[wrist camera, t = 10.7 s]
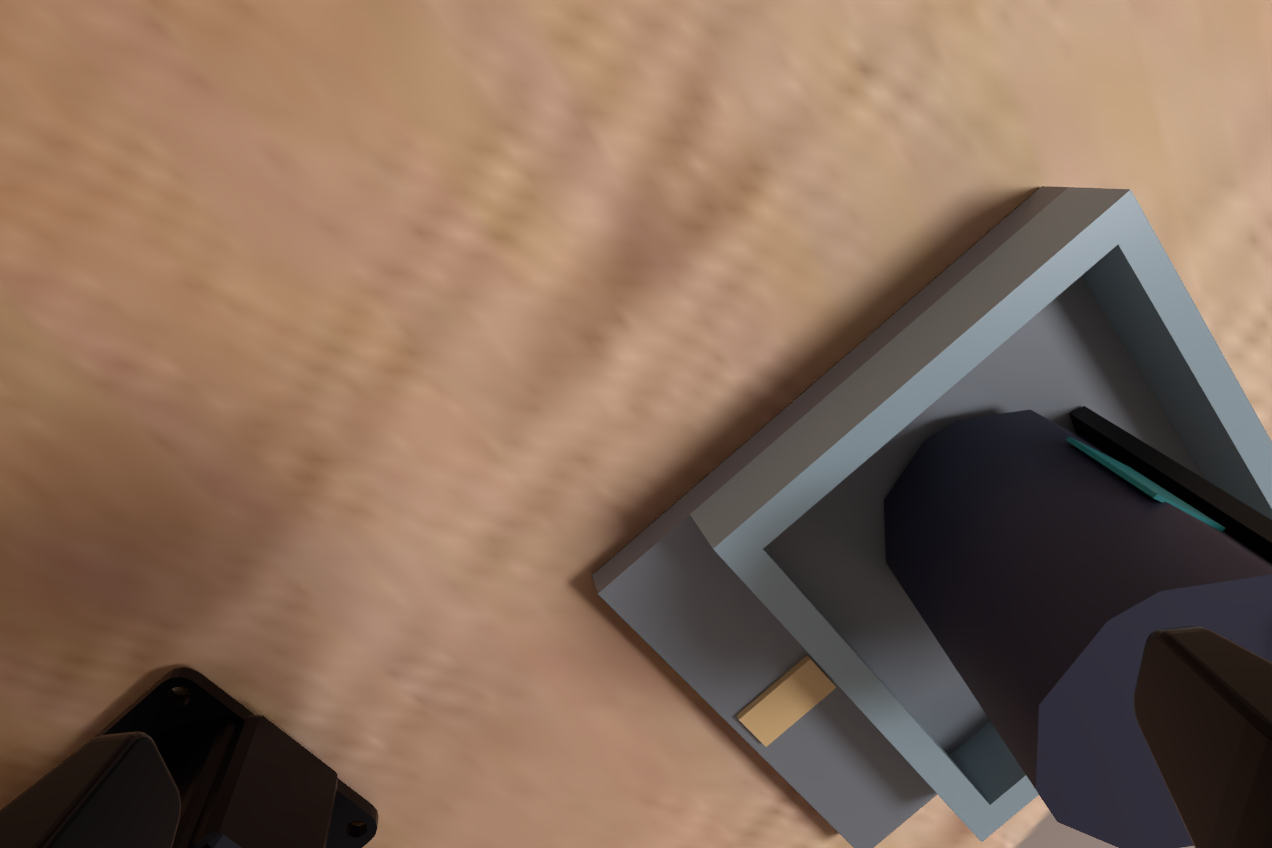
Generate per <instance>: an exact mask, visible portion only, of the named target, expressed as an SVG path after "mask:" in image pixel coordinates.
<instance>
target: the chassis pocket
mask: <svg viewBox="0 0 1272 848" xmlns="http://www.w3.org/2000/svg"><path fill="white" fill-rule="evenodd" d="M1083 406H1085V407H1087V408H1089V409H1090V410H1092V411H1093V412H1095V413H1097V414H1098V415H1100V416H1102V417H1103V418H1105V419H1107V420H1108V421H1110V422H1112V423H1113V424H1115V425H1116V426H1118V427H1120V428H1121V429H1123V430H1125V431H1126V432H1128V433H1130V434H1131V435H1133V436H1135V437H1136V438H1138V439H1139V440H1141V441H1143V442H1144V443H1146V444H1148V445H1149V446H1151V447H1153V448H1154V449H1156V450H1158V451H1159V452H1161V453H1162V454H1164V455H1166V456H1167V457H1169V458H1171V459H1172V460H1174V461H1176V462H1177V463H1179V464H1181V465H1182V466H1184V467H1185V468H1187V469H1189V470H1190V471H1192V472H1194V473H1195V474H1197V475H1199V476H1200V477H1202V478H1204V479H1205V480H1207V481H1208V482H1210V483H1212V484H1213V485H1215V486H1217V487H1218V488H1220V489H1222V490H1223V491H1225V492H1227V493H1228V494H1230V495H1231V496H1233V497H1235V498H1236V499H1238V500H1240V501H1241V502H1243V503H1245V504H1246V505H1248V506H1250V507H1251V508H1253V509H1254V510H1256V511H1258V512H1259V513H1261V514H1263V515H1264V516H1266V517H1268V518H1269V519H1271V520H1272V441H1271V440H1270V438H1269V436H1268V434H1267V433H1266V431H1265V429H1264V427H1263V425H1262V424H1261V422H1260V420H1259V418H1258V416H1257V415H1256V413H1255V411H1254V409H1253V407H1252V406H1251V404H1250V402H1249V400H1248V399H1247V397H1246V395H1245V393H1244V391H1243V390H1242V388H1241V386H1240V384H1239V382H1238V381H1237V379H1236V377H1235V375H1234V373H1233V372H1232V370H1231V368H1230V366H1229V365H1228V363H1227V361H1226V359H1225V357H1224V356H1223V354H1222V352H1221V350H1220V348H1219V347H1218V345H1217V343H1216V341H1215V339H1214V338H1213V336H1212V334H1211V332H1210V331H1209V329H1208V327H1207V325H1206V323H1205V322H1204V320H1203V318H1202V316H1201V314H1200V313H1199V311H1198V309H1197V307H1196V305H1195V304H1194V302H1193V300H1192V298H1191V297H1190V295H1189V293H1188V291H1187V289H1186V288H1185V286H1184V284H1183V282H1182V280H1181V279H1180V277H1179V275H1178V273H1177V271H1176V270H1175V268H1174V266H1173V264H1172V263H1171V261H1170V259H1169V257H1168V255H1167V254H1166V252H1165V250H1164V248H1163V246H1162V245H1161V243H1160V241H1159V239H1158V237H1157V236H1156V234H1155V232H1154V230H1153V229H1152V227H1151V225H1150V223H1149V221H1148V220H1147V218H1146V216H1145V214H1144V212H1143V211H1142V209H1141V207H1140V205H1139V203H1138V202H1137V200H1136V198H1135V196H1134V195H1133V193H1132V191H1131V190H1129V189H1101V188H1073V187H1044V186H1041V187H1040V188H1039V189H1038V190H1037V191H1036V192H1034V193H1033V194H1032V195H1031V196H1030V197H1029V198H1028V199H1026V200H1025V201H1024V202H1023V203H1022V204H1021V205H1019V206H1018V207H1017V208H1016V209H1015V210H1014V211H1012V212H1011V213H1010V214H1009V215H1008V216H1007V217H1006V218H1004V219H1003V220H1002V221H1001V222H1000V223H999V224H997V225H996V226H995V227H994V228H993V229H992V230H991V231H989V232H988V233H987V234H986V235H985V236H984V237H982V238H981V239H980V240H979V241H978V242H977V243H975V244H974V245H973V246H972V247H971V248H970V249H969V250H967V251H966V252H965V253H964V254H963V255H962V256H960V257H959V258H958V259H957V260H956V261H955V262H954V263H952V264H951V265H950V266H949V267H948V268H947V269H945V270H944V271H943V272H942V273H941V274H940V275H939V276H937V277H936V278H935V279H934V280H933V281H932V282H930V283H929V284H928V285H927V286H926V287H925V288H923V289H922V290H921V291H920V292H919V293H918V294H917V295H915V296H914V297H913V298H912V299H911V300H910V301H908V302H907V303H906V304H905V305H904V306H903V307H902V308H900V309H899V310H898V311H897V312H896V313H895V314H893V315H892V316H891V317H890V318H889V319H888V320H886V321H885V322H884V323H883V324H882V325H881V326H880V327H878V328H877V329H876V330H875V331H874V332H873V333H871V334H870V335H869V336H868V337H867V338H866V339H865V340H863V341H862V342H861V343H860V344H859V345H858V346H856V347H855V348H854V349H853V350H852V351H851V352H849V353H848V354H847V355H846V356H845V357H844V358H843V359H841V360H840V361H839V362H838V363H837V364H836V365H834V366H833V367H832V368H831V369H830V370H829V371H828V372H826V373H825V374H824V375H823V376H822V377H821V378H819V379H818V380H817V381H816V382H815V383H814V384H812V385H811V386H810V387H809V388H808V389H807V390H806V391H804V392H803V393H802V394H801V395H800V396H799V397H797V398H796V399H795V400H794V401H793V402H792V403H791V404H789V405H788V406H787V407H786V408H785V409H784V410H782V411H781V412H780V413H779V414H778V415H777V416H776V417H774V418H773V419H772V420H771V421H770V422H769V423H767V424H766V425H765V426H764V427H763V428H762V429H760V430H759V431H758V432H757V433H756V434H755V435H754V436H752V437H751V438H750V439H749V440H748V441H747V442H745V443H744V444H743V445H742V446H741V447H740V448H739V449H737V450H736V451H735V452H734V453H733V454H732V455H730V456H729V457H728V458H727V459H726V460H725V461H723V462H722V463H721V464H720V465H719V466H718V467H717V468H715V469H714V470H713V471H712V472H711V473H710V474H708V475H707V476H706V477H705V478H704V479H703V480H702V481H700V482H699V483H698V484H697V485H696V486H695V487H693V488H692V489H691V490H690V491H689V492H688V493H686V494H685V495H684V496H683V497H682V498H681V499H680V500H678V501H677V502H676V503H675V504H674V505H673V506H671V507H670V508H669V509H668V510H667V511H666V512H665V513H663V514H662V515H661V516H660V517H659V518H658V519H656V520H655V521H654V522H653V523H652V524H651V525H650V526H648V527H647V528H646V529H645V530H644V531H643V532H641V533H640V534H639V535H638V536H637V537H636V538H634V539H633V540H632V541H631V542H630V543H629V544H628V545H626V546H625V547H624V548H623V549H622V550H621V551H619V552H618V553H617V554H616V555H615V556H614V557H613V558H611V559H610V560H609V561H608V562H607V563H606V564H604V565H603V566H602V567H601V568H600V569H599V570H597V571H596V572H595V573H594V574H593V575H592V578H593V581H594V584H595V587H596V590H597V593H598V595H599V596H600V597H601V598H602V599H603V600H604V601H605V602H606V603H607V604H608V605H609V606H610V607H611V608H612V609H613V610H614V611H615V612H616V613H617V614H618V615H619V616H620V617H621V618H622V619H623V620H624V621H625V622H627V623H628V624H629V625H630V626H631V627H632V628H633V629H634V630H635V631H636V632H637V633H638V634H639V635H640V636H641V637H642V638H643V639H644V640H645V641H646V642H647V643H648V644H649V645H650V646H651V647H652V648H653V649H654V650H655V651H656V652H657V653H658V654H659V655H660V656H661V657H662V658H663V659H664V660H665V661H666V662H667V663H668V664H669V665H670V666H671V667H672V668H673V669H674V670H675V671H676V672H677V673H678V674H679V675H680V676H681V677H682V678H683V679H684V680H685V681H686V682H687V683H688V684H689V685H690V686H691V687H692V688H693V689H694V690H695V691H696V692H697V693H698V694H699V695H700V696H701V697H702V698H703V699H704V700H705V701H706V702H707V703H708V704H709V705H710V706H711V707H712V708H713V709H714V710H715V711H716V712H717V713H718V714H719V715H720V716H721V717H722V718H723V719H724V720H725V721H726V722H727V723H728V724H729V725H730V726H731V727H732V728H733V729H734V730H735V731H736V732H737V733H739V734H740V735H741V736H742V737H743V738H744V739H745V740H746V741H747V742H748V743H749V744H750V745H751V746H752V747H753V748H754V749H755V750H756V751H757V752H758V753H759V754H760V755H761V756H762V757H763V758H764V759H765V760H766V761H767V762H768V763H769V764H770V765H771V766H772V767H773V768H774V769H775V770H776V771H777V772H778V773H779V774H780V775H781V776H782V777H783V778H784V779H785V780H786V781H787V782H788V783H789V784H790V785H791V786H792V787H793V788H794V789H795V790H796V791H797V792H798V793H799V794H800V795H801V796H802V797H803V798H804V799H805V800H806V801H807V802H808V803H809V804H810V805H811V806H812V807H813V808H814V809H815V810H816V811H817V812H818V813H819V814H820V815H821V816H822V817H823V818H824V819H825V820H826V821H827V822H828V823H829V824H830V825H831V826H832V827H833V828H834V829H835V830H836V831H837V832H838V833H839V834H840V835H841V836H842V837H843V838H844V839H845V840H846V841H847V842H848V843H849V844H851V845H852V846H853V847H854V848H874V847H875V846H876V845H877V844H878V843H880V842H881V841H882V840H883V839H884V838H886V837H887V836H888V835H889V834H890V833H892V832H893V831H894V830H895V829H896V828H897V827H899V826H900V825H901V824H902V823H903V822H905V821H906V820H907V819H908V818H909V817H911V816H912V815H913V814H914V813H915V812H917V811H918V810H919V809H920V808H921V807H923V806H924V805H925V804H926V803H927V802H929V801H930V800H931V799H932V798H933V797H935V796H936V795H937V794H938V795H939V796H940V797H941V798H942V799H943V801H944V802H945V803H946V804H947V805H948V806H949V807H950V808H951V809H952V810H953V811H954V813H955V814H956V815H957V816H958V817H959V818H960V819H961V820H962V821H963V822H964V823H965V825H966V826H967V827H968V828H969V829H970V830H971V831H972V832H973V833H974V834H975V835H976V837H977V838H978V839H979V840H980V841H981V842H982V841H984V840H985V839H986V838H987V837H988V836H990V835H991V834H992V833H993V832H994V831H996V830H997V829H998V828H999V827H1000V826H1002V825H1003V824H1004V823H1005V822H1006V821H1008V820H1009V819H1010V818H1011V817H1012V816H1014V815H1015V814H1016V813H1017V812H1018V811H1020V810H1021V809H1022V808H1023V807H1025V806H1026V805H1027V804H1028V803H1029V802H1031V801H1032V800H1033V799H1034V798H1035V797H1037V796H1038V795H1039V794H1038V792H1037V791H1036V789H1035V788H1034V786H1033V785H1032V783H1031V782H1030V780H1029V779H1028V777H1027V776H1026V774H1025V773H1024V771H1023V770H1022V768H1021V767H1020V765H1019V764H1018V762H1017V761H1016V759H1015V757H1014V756H1013V754H1012V753H1011V751H1010V750H1009V748H1008V747H1007V745H1006V744H1005V742H1004V741H1003V739H1002V738H1001V736H1000V735H999V733H998V732H997V730H996V729H995V727H994V726H993V724H992V723H991V721H990V720H989V718H988V717H987V715H986V714H985V712H984V711H983V709H982V708H981V706H980V704H979V703H978V701H977V700H976V698H975V697H974V695H973V694H972V692H971V691H970V689H969V688H968V686H967V685H966V683H965V682H964V680H963V679H962V677H961V676H960V674H959V673H958V671H957V670H956V668H955V667H954V665H953V664H952V662H951V661H950V659H949V658H948V656H947V655H946V653H945V651H944V650H943V648H942V647H941V645H940V644H939V642H938V641H937V639H936V638H935V636H934V635H933V633H932V632H931V630H930V629H929V627H928V626H927V624H926V623H925V621H924V620H923V618H922V617H921V615H920V614H919V612H918V611H917V609H916V608H915V606H914V605H913V603H912V601H911V600H910V598H909V597H908V595H907V594H906V592H905V591H904V589H903V588H902V586H901V585H900V583H899V582H898V580H897V579H896V577H895V576H894V574H893V573H892V571H891V570H890V568H889V567H888V565H887V564H886V551H885V523H884V499H885V498H886V496H887V495H888V493H889V492H890V490H891V489H892V488H893V486H894V485H895V483H896V482H897V480H898V479H899V477H900V476H901V474H902V473H903V471H904V470H905V469H906V467H907V466H908V464H909V463H910V461H911V460H912V458H913V457H914V455H915V454H916V452H917V451H918V450H919V448H920V447H921V445H922V444H923V442H924V441H925V440H927V439H928V438H930V437H931V436H933V435H935V434H936V433H938V432H939V431H941V430H943V429H944V428H946V427H947V426H949V425H950V424H952V423H954V422H955V421H957V420H963V419H969V418H976V417H983V416H989V415H996V414H1003V413H1009V412H1016V411H1023V410H1029V409H1030V410H1032V411H1034V412H1036V413H1038V414H1040V415H1041V416H1043V417H1045V418H1047V419H1049V420H1051V421H1052V422H1054V423H1056V424H1058V425H1060V426H1062V427H1063V428H1065V429H1067V430H1069V431H1071V432H1072V433H1074V434H1076V432H1075V429H1074V426H1073V423H1072V420H1071V417H1070V414H1069V413H1070V412H1072V411H1074V410H1076V409H1079V408H1081V407H1083Z"/></svg>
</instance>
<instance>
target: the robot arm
mask: <svg viewBox="0 0 1272 848" xmlns="http://www.w3.org/2000/svg"><path fill="white" fill-rule="evenodd" d="M174 687H183V688H186V689H188V691H189V692H190V693H191V695H189V696H179V695H177V694H175V692H174V691H173V690H172V688H174ZM1134 711H1135V716H1136V719H1137V722H1138V725H1139V727H1140V730H1141V732H1142V734H1143V736H1144V738H1145V740H1146V743H1147V745H1148V747H1149V749H1150V751H1151V753H1152V756H1153V758H1154V760H1155V762H1156V764H1157V766H1158V769H1159V771H1160V773H1161V775H1162V777H1163V779H1164V782H1165V784H1166V786H1167V788H1168V790H1169V792H1170V795H1171V797H1172V799H1173V801H1174V803H1175V805H1176V808H1177V810H1178V812H1179V814H1180V816H1181V818H1182V820H1183V823H1184V825H1185V827H1186V829H1187V831H1188V833H1189V836H1190V838H1191V840H1192V842H1193V844H1194V846H1195V848H1272V663H1271V662H1270V661H1268V660H1266V659H1264V658H1262V657H1260V656H1258V655H1256V654H1255V653H1253V652H1251V651H1249V650H1247V649H1245V648H1243V647H1241V646H1239V645H1238V644H1236V643H1234V642H1232V641H1230V640H1228V639H1226V638H1224V637H1223V636H1221V635H1219V634H1217V633H1215V632H1213V631H1211V630H1209V629H1207V628H1204V627H1200V626H1186V627H1176V628H1166V629H1158V630H1156V631H1153V632H1152V633H1151V634H1150V635H1149V637H1148V638H1147V640H1146V643H1145V647H1144V652H1143V656H1142V661H1141V665H1140V670H1139V674H1138V679H1137V683H1136V687H1135V692H1134ZM357 820H360V821H362V822H364V823H365V824H364V825H362V826H353V825H351V824H350V822H352V821H357ZM377 825H378V812H377V810H376V809H375V807H374V806H373V805H372V804H370V803H369V802H368V801H367V800H365V799H364V798H363V797H361V796H360V795H359V794H357V793H356V792H355V791H353V790H352V789H351V788H350V787H348V786H347V785H346V784H344V783H343V782H342V781H340V780H339V779H338V778H337V773H336V772H335V771H334V770H333V769H331V768H330V767H329V766H327V765H326V764H325V763H323V762H322V761H321V760H320V759H318V758H317V757H316V756H314V755H313V754H312V753H310V752H309V751H308V750H306V749H305V748H304V747H303V746H301V745H300V744H299V743H297V742H296V741H295V740H293V739H292V738H291V737H290V736H288V735H287V734H286V733H284V732H283V731H282V730H280V729H279V728H278V727H277V726H275V725H274V724H273V723H271V722H270V721H269V720H267V719H266V718H265V717H263V716H259V715H254V714H253V713H252V712H250V711H249V710H248V709H246V708H245V707H244V706H242V705H241V704H240V703H239V702H237V701H236V700H235V699H233V698H232V697H231V696H229V695H228V694H227V693H225V692H224V691H223V690H222V689H220V688H219V687H218V686H216V685H215V684H214V683H212V682H211V681H210V680H208V679H207V678H206V677H205V676H203V675H202V674H201V673H199V672H197V671H195V670H193V669H189V668H179V669H174V670H172V671H170V672H169V673H167V674H166V675H165V676H163V677H162V678H161V679H160V680H159V681H158V682H157V683H156V684H154V685H153V686H152V687H151V688H150V689H149V690H148V691H146V692H145V693H144V694H143V695H142V696H141V697H140V698H138V699H137V700H136V701H135V702H134V703H133V704H132V705H131V706H129V707H128V708H127V709H126V710H125V711H124V712H123V713H121V714H120V715H119V716H118V717H117V718H116V719H115V720H114V721H112V722H111V723H110V724H109V725H108V726H107V727H106V728H104V729H103V730H102V731H101V732H100V733H99V734H98V735H96V736H95V737H94V738H93V739H92V740H91V741H89V742H88V743H86V744H85V745H84V746H83V747H81V748H80V749H79V750H77V751H76V752H75V753H74V754H72V755H71V756H70V757H68V758H67V759H66V760H65V761H63V762H62V763H61V764H59V765H58V766H57V767H56V768H54V769H53V770H52V771H50V772H49V773H48V774H47V775H45V776H44V777H43V778H41V779H40V780H39V781H38V782H36V783H35V784H34V785H32V786H31V787H30V788H29V789H27V790H26V791H25V792H23V793H22V794H21V795H20V796H18V797H17V798H16V799H14V800H13V801H12V802H11V803H9V804H8V805H7V806H5V807H4V808H3V809H2V810H0V848H362V847H363V846H365V845H366V844H367V843H368V842H369V841H370V840H371V839H372V838H373V837H374V836H375V834H376V830H377Z"/></svg>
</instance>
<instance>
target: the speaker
mask: <svg viewBox="0 0 1272 848" xmlns="http://www.w3.org/2000/svg"><path fill="white" fill-rule="evenodd" d="M1069 414H1070V417H1071V420H1072V423H1073V426H1074V429H1075V432H1076V434H1074V433H1072V432H1071V431H1069V430H1067V429H1065V428H1063V427H1062V426H1060V425H1058V424H1056V423H1054V422H1052V421H1051V420H1049V419H1047V418H1045V417H1043V416H1041V415H1040V414H1038V413H1036V412H1034V411H1032V410H1030V409H1029V410H1023V411H1016V412H1009V413H1003V414H996V415H989V416H983V417H976V418H969V419H963V420H957V421H955V422H954V423H952V424H950V425H949V426H947V427H946V428H944V429H943V430H941V431H939V432H938V433H936V434H935V435H933V436H931V437H930V438H928V439H927V440H925V441H924V442H923V444H922V445H921V447H920V448H919V450H918V451H917V452H916V454H915V455H914V457H913V458H912V460H911V461H910V463H909V464H908V466H907V467H906V469H905V470H904V471H903V473H902V474H901V476H900V477H899V479H898V480H897V482H896V483H895V485H894V486H893V488H892V489H891V490H890V492H889V493H888V495H887V496H886V498H885V499H884V523H885V551H886V564H887V565H888V567H889V568H890V570H891V571H892V573H893V574H894V576H895V577H896V579H897V580H898V582H899V583H900V585H901V586H902V588H903V589H904V591H905V592H906V594H907V595H908V597H909V598H910V600H911V601H912V603H913V605H914V606H915V608H916V609H917V611H918V612H919V614H920V615H921V617H922V618H923V620H924V621H925V623H926V624H927V626H928V627H929V629H930V630H931V632H932V633H933V635H934V636H935V638H936V639H937V641H938V642H939V644H940V645H941V647H942V648H943V650H944V651H945V653H946V655H947V656H948V658H949V659H950V661H951V662H952V664H953V665H954V667H955V668H956V670H957V671H958V673H959V674H960V676H961V677H962V679H963V680H964V682H965V683H966V685H967V686H968V688H969V689H970V691H971V692H972V694H973V695H974V697H975V698H976V700H977V701H978V703H979V704H980V706H981V708H982V709H983V711H984V712H985V714H986V715H987V717H988V718H989V720H990V721H991V723H992V724H993V726H994V727H995V729H996V730H997V732H998V733H999V735H1000V736H1001V738H1002V739H1003V741H1004V742H1005V744H1006V745H1007V747H1008V748H1009V750H1010V751H1011V753H1012V754H1013V756H1014V757H1015V759H1016V761H1017V762H1018V764H1019V765H1020V767H1021V768H1022V770H1023V771H1024V773H1025V774H1026V776H1027V777H1028V779H1029V780H1030V782H1031V783H1032V785H1033V786H1034V788H1035V789H1036V791H1037V792H1038V794H1039V795H1040V797H1041V798H1042V800H1043V801H1044V803H1045V804H1046V806H1047V807H1048V808H1049V810H1050V811H1051V813H1052V814H1053V816H1054V817H1055V819H1056V820H1057V822H1059V823H1061V824H1064V825H1066V826H1069V827H1071V828H1073V829H1076V830H1078V831H1080V832H1083V833H1085V834H1088V835H1090V836H1092V837H1095V838H1097V839H1099V840H1102V841H1104V842H1107V843H1109V844H1112V845H1114V846H1116V847H1119V848H1180V847H1187V846H1194V844H1193V842H1192V840H1191V838H1190V836H1189V833H1188V831H1187V829H1186V827H1185V825H1184V823H1183V820H1182V818H1181V816H1180V814H1179V812H1178V810H1177V808H1176V805H1175V803H1174V801H1173V799H1172V797H1171V795H1170V792H1169V790H1168V788H1167V786H1166V784H1165V782H1164V779H1163V777H1162V775H1161V773H1160V771H1159V769H1158V766H1157V764H1156V762H1155V760H1154V758H1153V756H1152V753H1151V751H1150V749H1149V747H1148V745H1147V743H1146V740H1145V738H1144V736H1143V734H1142V732H1141V730H1140V727H1139V725H1138V722H1137V719H1136V716H1135V711H1134V692H1135V687H1136V683H1137V679H1138V674H1139V670H1140V665H1141V661H1142V656H1143V652H1144V647H1145V643H1146V640H1147V638H1148V637H1149V635H1150V634H1151V633H1152V632H1153V631H1156V630H1158V629H1166V628H1176V627H1186V626H1200V627H1204V628H1207V629H1209V630H1211V631H1213V632H1215V633H1217V634H1219V635H1221V636H1223V637H1224V638H1226V639H1228V640H1230V641H1232V642H1234V643H1236V644H1238V645H1239V646H1241V647H1243V648H1245V649H1247V650H1249V651H1251V652H1253V653H1255V654H1256V655H1258V656H1260V657H1262V658H1264V659H1266V660H1268V661H1270V662H1271V663H1272V520H1271V519H1269V518H1268V517H1266V516H1264V515H1263V514H1261V513H1259V512H1258V511H1256V510H1254V509H1253V508H1251V507H1250V506H1248V505H1246V504H1245V503H1243V502H1241V501H1240V500H1238V499H1236V498H1235V497H1233V496H1231V495H1230V494H1228V493H1227V492H1225V491H1223V490H1222V489H1220V488H1218V487H1217V486H1215V485H1213V484H1212V483H1210V482H1208V481H1207V480H1205V479H1204V478H1202V477H1200V476H1199V475H1197V474H1195V473H1194V472H1192V471H1190V470H1189V469H1187V468H1185V467H1184V466H1182V465H1181V464H1179V463H1177V462H1176V461H1174V460H1172V459H1171V458H1169V457H1167V456H1166V455H1164V454H1162V453H1161V452H1159V451H1158V450H1156V449H1154V448H1153V447H1151V446H1149V445H1148V444H1146V443H1144V442H1143V441H1141V440H1139V439H1138V438H1136V437H1135V436H1133V435H1131V434H1130V433H1128V432H1126V431H1125V430H1123V429H1121V428H1120V427H1118V426H1116V425H1115V424H1113V423H1112V422H1110V421H1108V420H1107V419H1105V418H1103V417H1102V416H1100V415H1098V414H1097V413H1095V412H1093V411H1092V410H1090V409H1089V408H1087V407H1085V406H1083V407H1081V408H1079V409H1076V410H1074V411H1072V412H1070V413H1069Z"/></svg>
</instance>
